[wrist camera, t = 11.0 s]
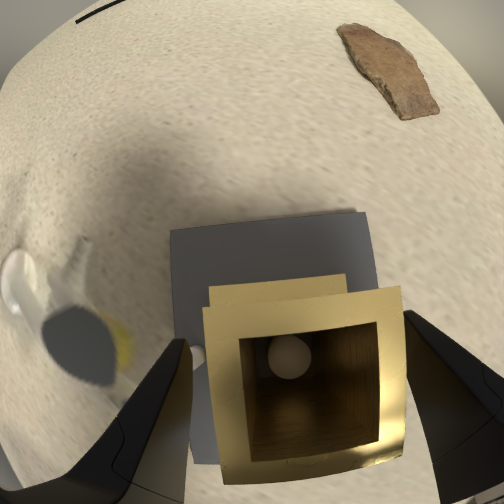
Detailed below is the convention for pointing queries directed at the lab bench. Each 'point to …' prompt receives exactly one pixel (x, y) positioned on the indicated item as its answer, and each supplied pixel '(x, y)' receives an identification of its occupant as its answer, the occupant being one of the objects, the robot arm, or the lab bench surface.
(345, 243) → the base plate
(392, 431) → the brass sleeve
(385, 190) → the lab bench surface
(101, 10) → the electrical cable
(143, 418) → the robot arm
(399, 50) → the pottery shard
